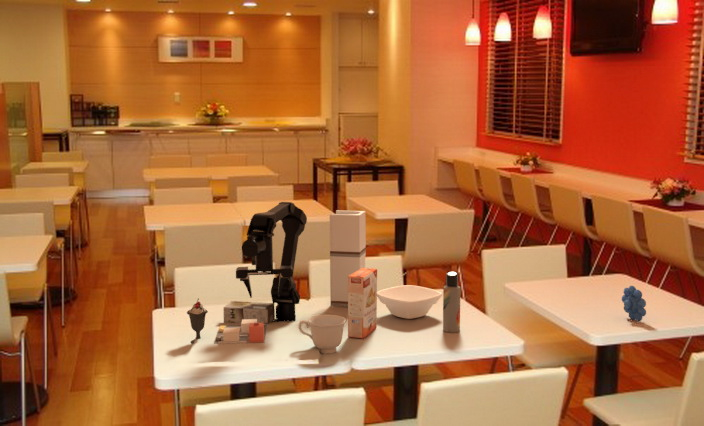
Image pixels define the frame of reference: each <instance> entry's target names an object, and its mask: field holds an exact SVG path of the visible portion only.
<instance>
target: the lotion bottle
mask: <svg viewBox="0 0 704 426" xmlns="http://www.w3.org/2000/svg"><path fill="white" fill-rule="evenodd" d="M445 275H446V277H445V279H446V280H445V285H444V286H443V289H442V290H443V291H442V292H443V293H442V298H443V299H442V301H443V302H442V303H443V304H442V330H443V332H446V333H451V334H452V333H458V332H460V330H461V286H459V274H458V273H457V272H456V271H449V272H446V274H445Z"/></svg>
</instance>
